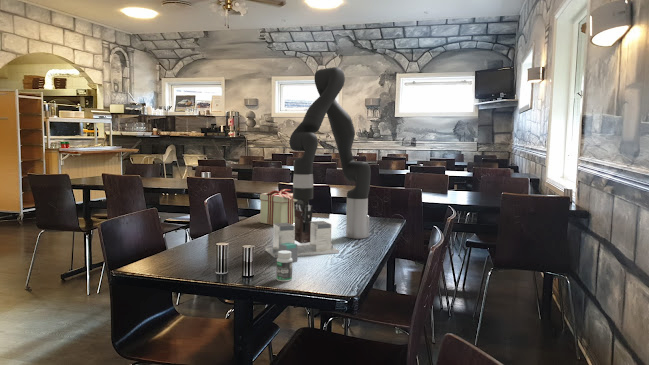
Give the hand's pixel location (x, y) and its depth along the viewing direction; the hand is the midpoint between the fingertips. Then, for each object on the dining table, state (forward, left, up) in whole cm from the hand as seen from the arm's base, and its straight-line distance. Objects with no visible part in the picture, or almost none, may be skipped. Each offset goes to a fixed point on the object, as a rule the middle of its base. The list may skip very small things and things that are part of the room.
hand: (302, 230), depth 179 cm
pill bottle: (+18, +33, -8) cm, 38 cm away
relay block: (+10, +12, -8) cm, 17 cm away
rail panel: (0, 0, -8) cm, 8 cm away
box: (0, 0, -4) cm, 4 cm away
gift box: (-12, -64, -8) cm, 66 cm away
